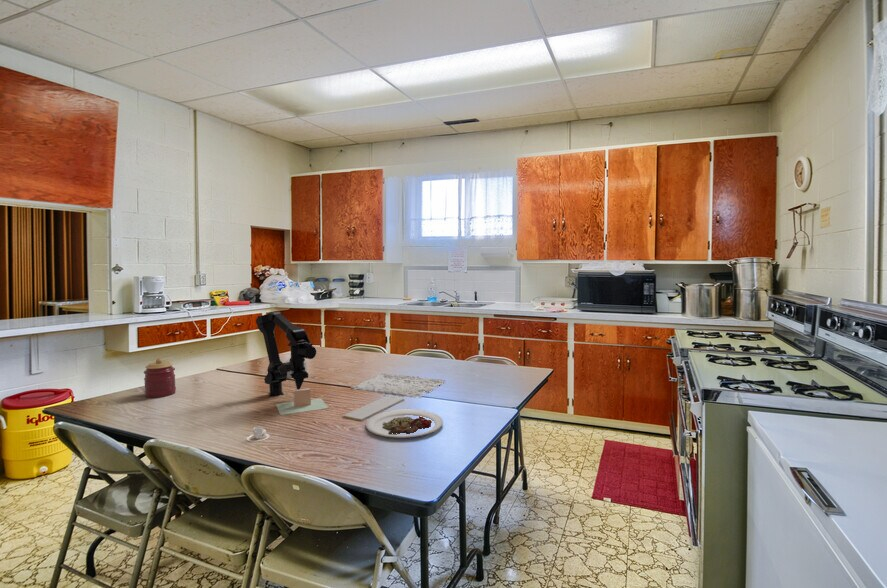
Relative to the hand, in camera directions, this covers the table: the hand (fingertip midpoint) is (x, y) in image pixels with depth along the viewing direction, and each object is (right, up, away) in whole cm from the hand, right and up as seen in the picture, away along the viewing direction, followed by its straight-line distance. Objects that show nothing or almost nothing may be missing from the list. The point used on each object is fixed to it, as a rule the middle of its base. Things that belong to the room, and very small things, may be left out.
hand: (298, 389), depth 210 cm
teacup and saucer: (+1, -9, -40) cm, 41 cm away
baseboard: (+36, -7, -9) cm, 37 cm away
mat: (+4, -6, -7) cm, 10 cm away
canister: (-71, -5, +13) cm, 73 cm away
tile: (+4, -6, -6) cm, 9 cm away
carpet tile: (+44, -4, +27) cm, 52 cm away
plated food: (+51, -8, -31) cm, 60 cm away
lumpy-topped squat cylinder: (-18, -2, +48) cm, 52 cm away
